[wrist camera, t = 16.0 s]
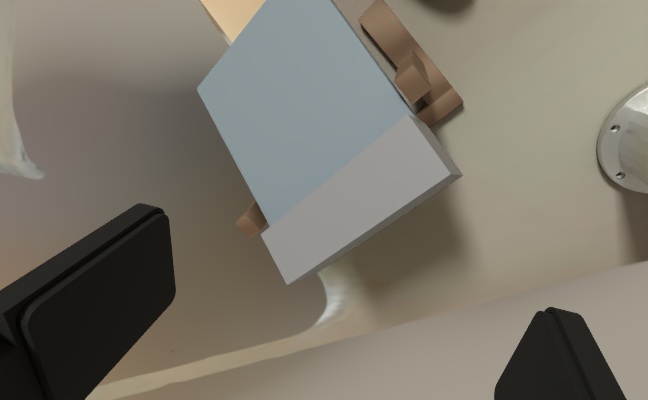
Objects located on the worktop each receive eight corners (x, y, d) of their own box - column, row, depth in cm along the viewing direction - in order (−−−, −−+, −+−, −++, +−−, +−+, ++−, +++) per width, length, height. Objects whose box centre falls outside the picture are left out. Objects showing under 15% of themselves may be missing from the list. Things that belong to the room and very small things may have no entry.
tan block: (274, 13, 35) (237, -35, 35) (233, 43, 35) (196, -5, 35) (280, 38, 40) (248, -4, 40) (244, 65, 40) (211, 22, 40)
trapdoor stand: (462, 99, 40) (493, 147, 25) (326, 205, 50) (290, 284, 35) (380, -3, 37) (361, -18, 22) (253, 130, 47) (181, 181, 32)
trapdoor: (463, 175, 27) (450, 174, 23) (315, 273, 34) (287, 285, 30) (316, -27, 32) (287, -54, 29) (216, 94, 40) (182, 85, 36)
